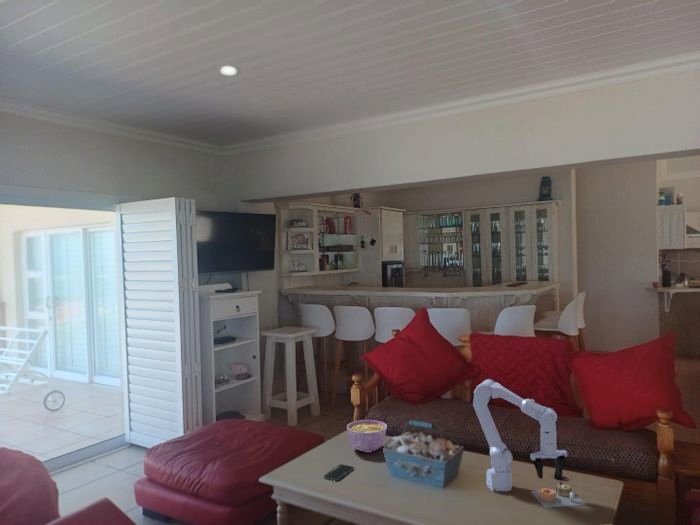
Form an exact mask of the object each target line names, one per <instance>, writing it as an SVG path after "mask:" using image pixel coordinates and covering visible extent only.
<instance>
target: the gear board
mask: <svg viewBox="0 0 700 525" xmlns="http://www.w3.org/2000/svg"><path fill="white" fill-rule="evenodd" d="M562 488H565V485H562ZM552 490H553V491H554V492H555V498H556V499H555V500H554V501H552V502H547V501H543V500H542V499H541V498H540V490H536V491H535V490H533V491H530V493H531V495H532V496H533V497H534V498H535V499H536V500H537V501H539V503H540V504H541V505H542V506H543V507H544V508H546V509H547V508H558V507H559V508H562V507H570V506H571V507H573V506H585V505H587V503H586V502H584V501H583V499H581V498H580V497H579V496H578V495H576V494H575V493H574V492H573V491H572V490H571V493H570V496H566V497H565V496H560V495H558V494H557V493H556V489H552Z"/></svg>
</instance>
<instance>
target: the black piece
mask: <svg viewBox="0 0 700 525" xmlns="http://www.w3.org/2000/svg"><path fill="white" fill-rule="evenodd" d="M553 475H554V476H553V479H554V480H558V481H563V478H564V470H562V472H561V476H560V477H559V476H557V475H556V472H555V471H554V474H553Z"/></svg>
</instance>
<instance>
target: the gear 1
mask: <svg viewBox="0 0 700 525" xmlns="http://www.w3.org/2000/svg"><path fill="white" fill-rule="evenodd" d="M553 490H554V489H550V488H546V487H545V488H541V489H540V490H539V491H540V498H541V499H542V500H543V501H547V502H552V501H554V500H555V499H556V498H555V492H554V491H553Z"/></svg>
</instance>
